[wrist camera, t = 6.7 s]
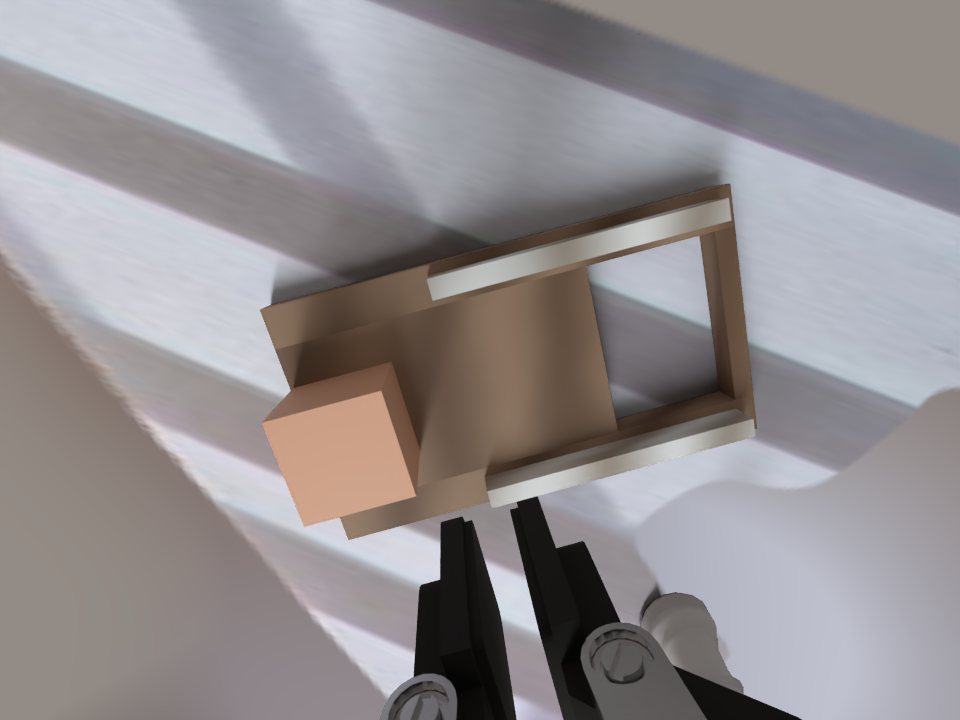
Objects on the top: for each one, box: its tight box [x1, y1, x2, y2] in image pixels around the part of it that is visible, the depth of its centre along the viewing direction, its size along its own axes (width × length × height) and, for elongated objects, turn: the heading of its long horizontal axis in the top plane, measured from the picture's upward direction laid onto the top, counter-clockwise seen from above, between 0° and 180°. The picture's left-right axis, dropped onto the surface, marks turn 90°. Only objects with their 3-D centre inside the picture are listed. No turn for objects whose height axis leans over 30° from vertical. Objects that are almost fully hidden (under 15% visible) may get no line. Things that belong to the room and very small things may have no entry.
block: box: [262, 362, 420, 527], centre depth 23 cm, size 5×5×4 cm
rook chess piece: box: [641, 592, 743, 694], centre depth 28 cm, size 4×4×8 cm
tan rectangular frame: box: [260, 184, 757, 540], centre depth 25 cm, size 23×13×3 cm, turn 105°
